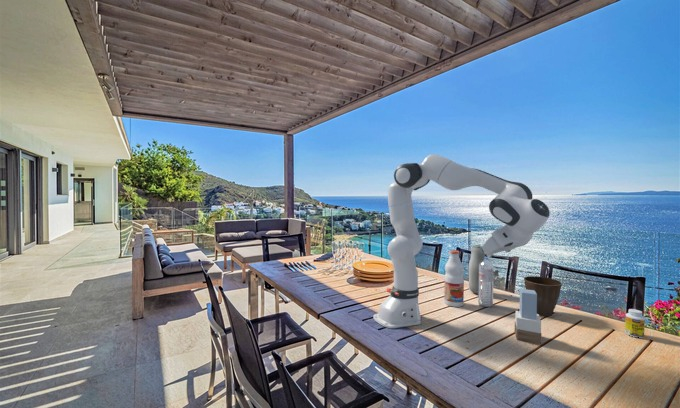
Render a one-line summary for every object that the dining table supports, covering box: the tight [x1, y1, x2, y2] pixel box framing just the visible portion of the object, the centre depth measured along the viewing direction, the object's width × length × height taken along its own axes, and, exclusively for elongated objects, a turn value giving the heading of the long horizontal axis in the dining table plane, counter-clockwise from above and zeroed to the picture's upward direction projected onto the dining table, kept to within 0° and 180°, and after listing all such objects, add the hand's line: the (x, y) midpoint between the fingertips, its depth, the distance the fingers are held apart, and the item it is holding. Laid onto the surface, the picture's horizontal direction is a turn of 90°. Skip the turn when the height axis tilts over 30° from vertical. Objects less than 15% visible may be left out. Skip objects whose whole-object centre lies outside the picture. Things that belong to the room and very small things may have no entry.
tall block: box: [518, 288, 537, 320], centre depth 117 cm, size 5×5×10 cm
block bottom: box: [514, 321, 542, 345], centre depth 117 cm, size 8×8×4 cm
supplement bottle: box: [624, 308, 646, 339], centre depth 119 cm, size 6×6×10 cm
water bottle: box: [477, 256, 495, 308], centre depth 151 cm, size 7×7×25 cm
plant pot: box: [523, 275, 563, 317], centre depth 141 cm, size 15×15×16 cm
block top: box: [514, 310, 542, 334], centre depth 117 cm, size 8×8×4 cm
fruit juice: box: [443, 249, 465, 308], centre depth 153 cm, size 9×9×28 cm
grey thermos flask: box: [468, 244, 486, 295], centre depth 169 cm, size 10×10×28 cm
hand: (497, 253), depth 122 cm, fingers open, 8 cm apart
